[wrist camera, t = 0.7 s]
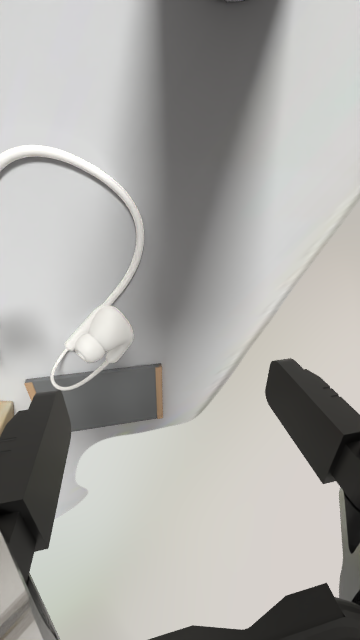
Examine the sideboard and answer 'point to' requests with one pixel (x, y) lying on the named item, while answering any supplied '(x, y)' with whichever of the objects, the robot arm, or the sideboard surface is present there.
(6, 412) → the box
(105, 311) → the earphone
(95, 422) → the mat
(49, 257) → the sideboard surface
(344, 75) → the sideboard surface
